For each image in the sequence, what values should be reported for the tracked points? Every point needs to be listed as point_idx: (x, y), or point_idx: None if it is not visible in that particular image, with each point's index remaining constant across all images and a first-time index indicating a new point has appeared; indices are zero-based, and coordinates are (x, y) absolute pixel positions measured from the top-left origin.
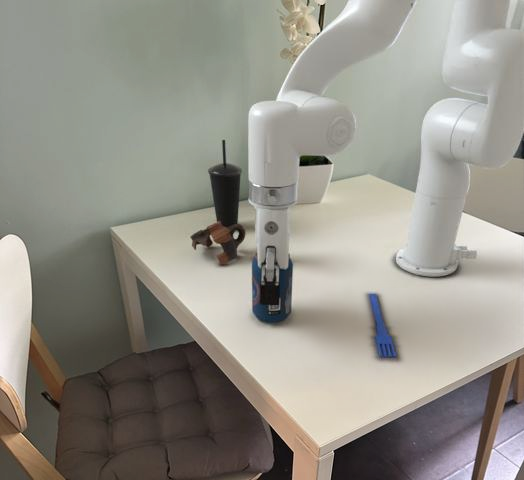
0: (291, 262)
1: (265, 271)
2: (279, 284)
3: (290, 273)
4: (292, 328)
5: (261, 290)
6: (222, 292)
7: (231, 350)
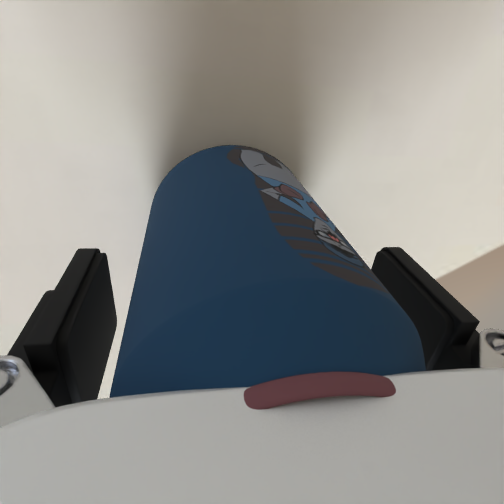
0: (325, 313)
1: None
2: (477, 323)
3: (359, 269)
4: (317, 135)
5: None
6: None
7: None
